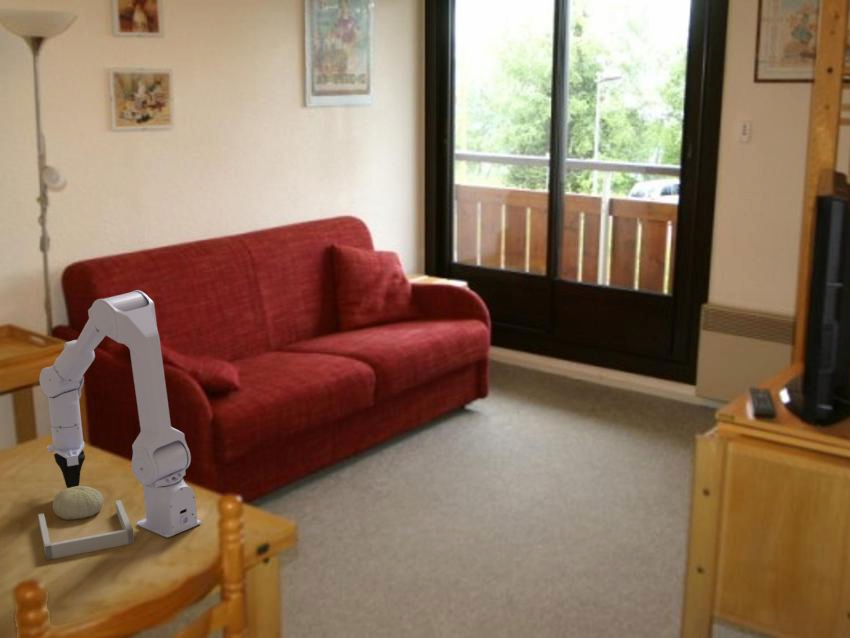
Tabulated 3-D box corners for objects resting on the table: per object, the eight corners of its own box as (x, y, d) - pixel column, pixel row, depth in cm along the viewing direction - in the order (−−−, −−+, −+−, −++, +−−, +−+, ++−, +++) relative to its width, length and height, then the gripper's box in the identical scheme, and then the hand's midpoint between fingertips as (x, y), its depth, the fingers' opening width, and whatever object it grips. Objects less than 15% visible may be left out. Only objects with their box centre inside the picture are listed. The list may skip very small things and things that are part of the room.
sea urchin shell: (99, 512, 198) (66, 485, 197) (72, 540, 200) (39, 513, 198) (114, 493, 207) (82, 466, 206) (88, 520, 209) (57, 493, 207)
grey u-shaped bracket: (134, 543, 190) (133, 530, 189) (46, 559, 184) (45, 546, 183) (121, 511, 203) (120, 499, 202) (39, 526, 197) (38, 514, 196)
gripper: (41, 415, 213) (48, 478, 216) (48, 437, 200) (55, 504, 204) (78, 410, 216) (84, 472, 219) (86, 432, 203) (93, 497, 206)
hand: (72, 487), depth 212 cm, fingers closed
